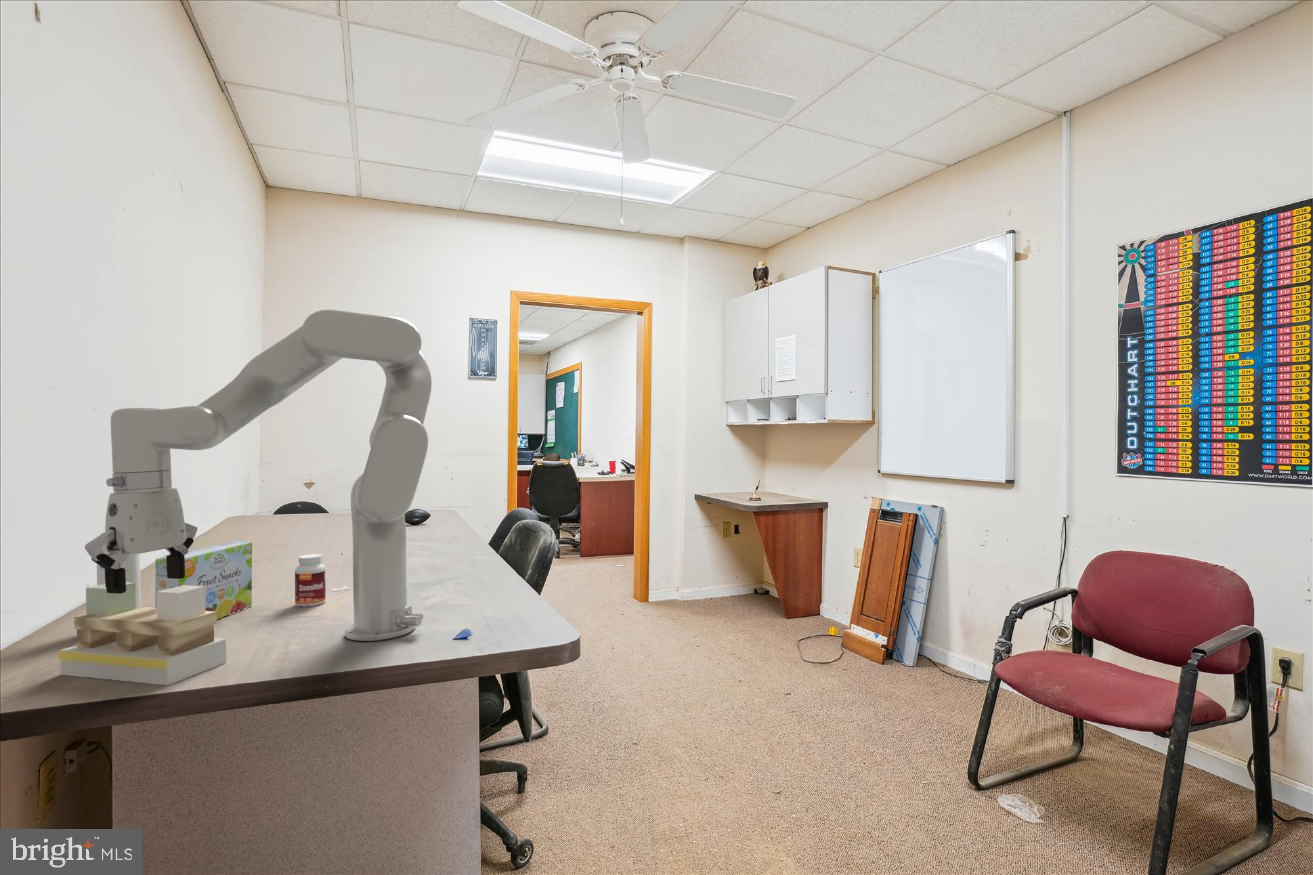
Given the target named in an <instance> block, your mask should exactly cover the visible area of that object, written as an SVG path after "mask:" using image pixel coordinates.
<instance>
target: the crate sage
mask: <svg viewBox="0 0 1313 875" xmlns="http://www.w3.org/2000/svg"><path fill="white" fill-rule="evenodd" d="M85 606H86V607H85V608H86V609H85V612H86V613H85V614H86V615H96V616H110V615H114V614H118V613H122V612H125V611H129V610H133V609H136V603H135V583H132V582H126V592H125V593H121V594H115V593H107V589H106V586H105V584H101V585H97V584H96V585H93V586H88V587H86V588H85Z"/></svg>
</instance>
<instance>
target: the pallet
mask: <svg viewBox="0 0 1313 875" xmlns="http://www.w3.org/2000/svg"><path fill="white" fill-rule="evenodd" d="M73 623H74V625H73V627H74V628H73V629H74V630H76V646H77V647H79V648H94V647H97V646H101V645H104V644H107V643H111V642H114V641H117V651H126V652H133V651H136V650H139V649H142V648H145V647H148V646H151V645H154V644H157V643H158V654H161V655H176V654H179V653H182V652H185V651H188V650H191V649H193V648H196V647H199V646H202V645H205V644H208V643H211V642H213V641H214V638H215V625H216V624H217V620H216V612H214V611H205V614H202V615H199V616H195V617H192V618H189V619H185V620H182V621H167V620H157V608H155V607H151V606H149V607H147V606H141V607H136V609H133V610H129V611H125V612H122V613H118V614H114V615H110V616H96V615H86V613H83V614H79V615H75V616H73Z"/></svg>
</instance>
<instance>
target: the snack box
mask: <svg viewBox="0 0 1313 875" xmlns="http://www.w3.org/2000/svg"><path fill="white" fill-rule="evenodd" d="M166 557H167V556H164V557H159V558H155V576H154V577H155V580H154V582H155V585H154V588H155V589H154V590H155V591H154V593H155V594H154V603H155V604H154V608H157V597H156V592H158V591H162V590H166V589H170V588H174V587H178V586H182V585H189V586H205V611H214V612H216V621H219V620H220V619H219V618H221V619H223V618H222V617H224V616H227V615H229V614H232V613H233V612H237V611H238V610H242V609H244V608H247V607H248V606H251V605H253V603H252V601H253V598H252V596H253V590H252V589H253V588H252V587H253V584H252V583H253V541H228V542H225V543H219V544H216V545H211V546H207V547H202V548H199V549H193V550H188V553H187V554H186V555H184V557H185V578H182V579H169V578H167V563H166ZM247 609H248V608H247ZM244 610H245V609H244ZM242 611H243V610H242ZM237 613H238V612H237ZM232 615H233V614H232ZM229 616H230V615H229ZM227 617H228V616H227ZM224 618H225V617H224ZM218 619H219V620H218Z"/></svg>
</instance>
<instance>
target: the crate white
mask: <svg viewBox="0 0 1313 875" xmlns="http://www.w3.org/2000/svg"><path fill="white" fill-rule="evenodd" d="M156 597H157V620H167V621H182V620H185V619H189V618H192V617H195V616H199V615H202V614H205V586H189V585H182V586H178V587H174V588H170V589H166V590H162V591H158V592H156Z"/></svg>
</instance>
